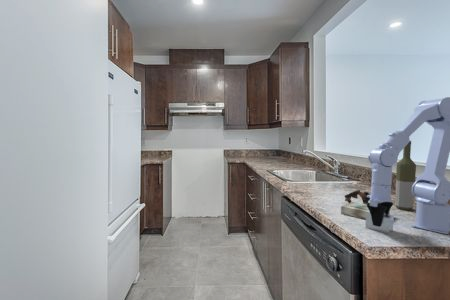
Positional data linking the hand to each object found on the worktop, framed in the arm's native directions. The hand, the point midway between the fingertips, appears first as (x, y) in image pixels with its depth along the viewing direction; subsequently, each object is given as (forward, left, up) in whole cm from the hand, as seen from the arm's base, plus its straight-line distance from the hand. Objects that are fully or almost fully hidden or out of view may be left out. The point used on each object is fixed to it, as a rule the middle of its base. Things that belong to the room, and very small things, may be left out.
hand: (379, 224), depth 86 cm
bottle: (+1, -38, -2) cm, 38 cm away
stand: (+9, -14, -2) cm, 17 cm away
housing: (0, 0, -2) cm, 2 cm away
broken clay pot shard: (+16, -28, -2) cm, 33 cm away
